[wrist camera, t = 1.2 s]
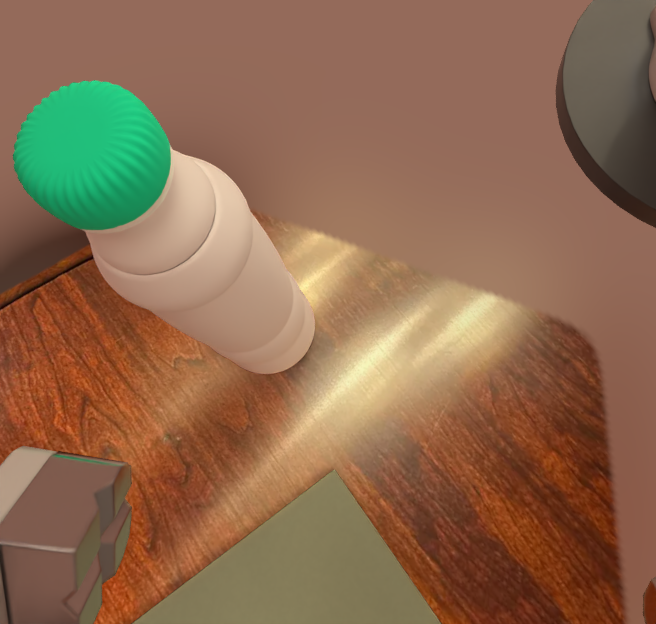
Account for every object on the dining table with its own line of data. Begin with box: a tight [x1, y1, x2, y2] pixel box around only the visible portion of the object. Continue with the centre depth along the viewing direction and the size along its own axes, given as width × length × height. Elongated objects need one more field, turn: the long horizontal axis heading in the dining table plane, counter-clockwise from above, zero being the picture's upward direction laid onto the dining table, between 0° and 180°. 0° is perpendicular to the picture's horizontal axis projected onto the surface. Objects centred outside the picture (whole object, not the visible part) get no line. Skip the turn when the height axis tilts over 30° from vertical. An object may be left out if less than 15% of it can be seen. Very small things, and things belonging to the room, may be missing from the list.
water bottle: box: [13, 80, 315, 374], centre depth 29 cm, size 7×7×25 cm
